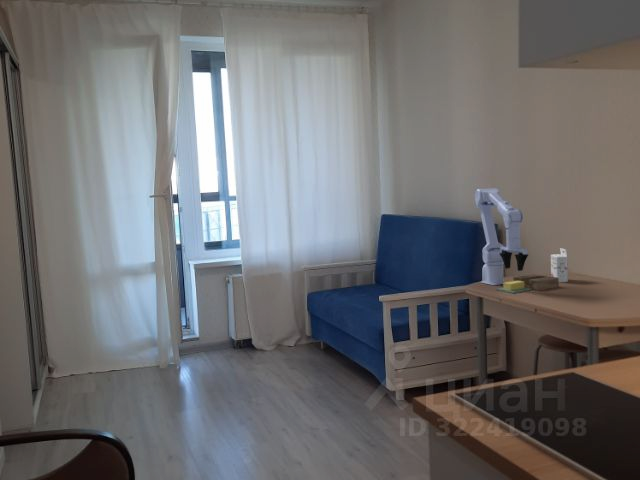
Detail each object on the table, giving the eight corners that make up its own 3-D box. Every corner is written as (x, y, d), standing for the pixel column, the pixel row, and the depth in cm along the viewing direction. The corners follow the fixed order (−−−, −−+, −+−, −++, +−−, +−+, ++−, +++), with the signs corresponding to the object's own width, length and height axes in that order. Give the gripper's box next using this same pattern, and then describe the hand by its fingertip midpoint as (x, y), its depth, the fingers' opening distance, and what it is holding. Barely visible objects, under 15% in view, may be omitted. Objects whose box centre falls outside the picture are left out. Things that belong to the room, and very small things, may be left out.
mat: (496, 290, 270) (496, 288, 270) (514, 287, 274) (514, 285, 274) (512, 293, 261) (512, 292, 261) (530, 290, 265) (530, 288, 265)
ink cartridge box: (550, 279, 288) (549, 248, 286) (561, 278, 287) (560, 247, 286) (557, 282, 279) (556, 250, 277) (568, 282, 279) (567, 249, 277)
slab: (503, 289, 268) (503, 282, 268) (517, 286, 272) (517, 280, 271) (510, 290, 264) (510, 284, 264) (524, 288, 268) (524, 281, 267)
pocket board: (513, 286, 277) (513, 277, 276) (534, 282, 282) (534, 273, 282) (537, 290, 264) (537, 281, 264) (558, 286, 270) (558, 277, 269)
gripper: (494, 237, 270) (495, 268, 272) (518, 240, 257) (519, 272, 259) (506, 236, 273) (507, 266, 275) (531, 238, 260) (531, 270, 262)
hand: (513, 269), depth 267 cm, fingers open, 7 cm apart
